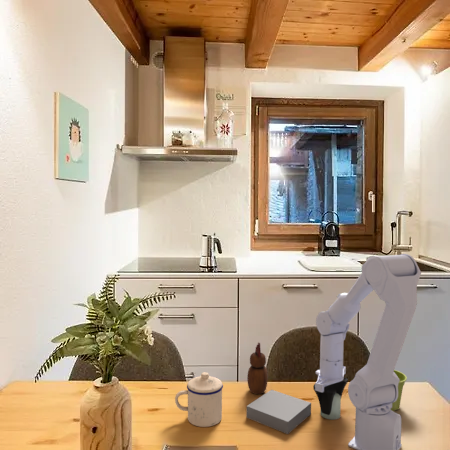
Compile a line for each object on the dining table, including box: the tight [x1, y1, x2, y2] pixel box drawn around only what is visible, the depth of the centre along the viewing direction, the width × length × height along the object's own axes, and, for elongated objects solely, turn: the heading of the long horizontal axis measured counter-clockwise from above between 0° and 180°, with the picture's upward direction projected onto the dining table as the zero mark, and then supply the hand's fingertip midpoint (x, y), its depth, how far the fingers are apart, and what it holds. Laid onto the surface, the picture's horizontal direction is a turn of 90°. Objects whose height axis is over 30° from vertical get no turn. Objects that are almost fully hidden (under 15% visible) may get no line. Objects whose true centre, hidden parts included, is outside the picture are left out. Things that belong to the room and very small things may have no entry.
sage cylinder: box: [320, 393, 342, 421], centre depth 107 cm, size 5×5×5 cm
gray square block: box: [245, 389, 312, 435], centre depth 106 cm, size 12×12×3 cm
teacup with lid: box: [174, 371, 224, 428], centre depth 104 cm, size 12×9×12 cm
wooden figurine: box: [247, 341, 269, 395], centre depth 119 cm, size 7×6×15 cm
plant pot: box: [391, 369, 408, 412], centre depth 112 cm, size 9×9×9 cm
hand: (330, 409), depth 107 cm, fingers closed on sage cylinder, 5 cm apart
